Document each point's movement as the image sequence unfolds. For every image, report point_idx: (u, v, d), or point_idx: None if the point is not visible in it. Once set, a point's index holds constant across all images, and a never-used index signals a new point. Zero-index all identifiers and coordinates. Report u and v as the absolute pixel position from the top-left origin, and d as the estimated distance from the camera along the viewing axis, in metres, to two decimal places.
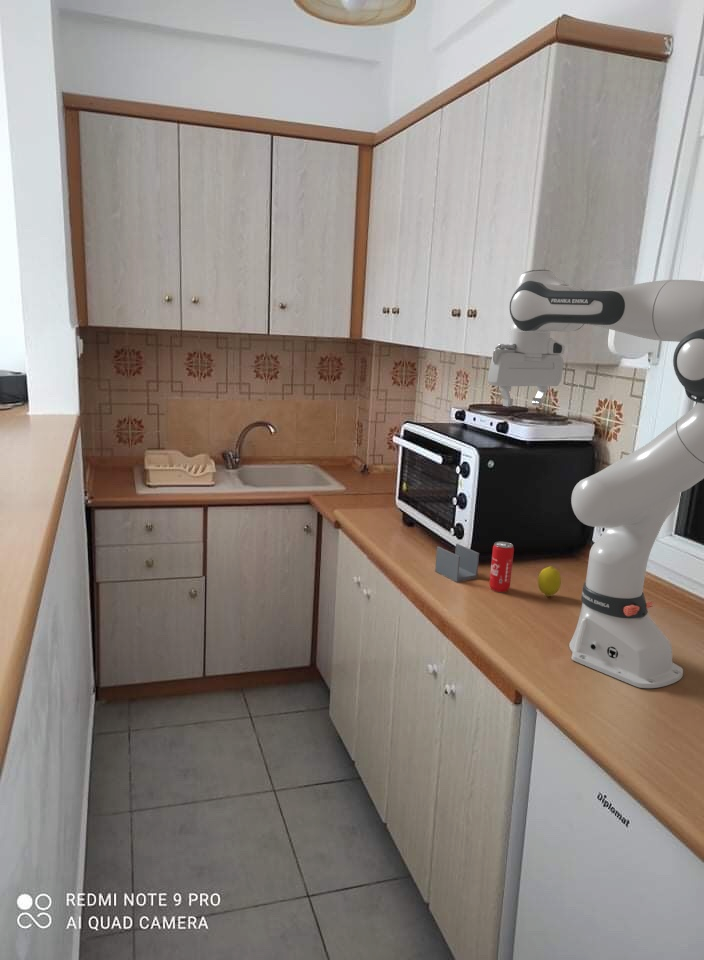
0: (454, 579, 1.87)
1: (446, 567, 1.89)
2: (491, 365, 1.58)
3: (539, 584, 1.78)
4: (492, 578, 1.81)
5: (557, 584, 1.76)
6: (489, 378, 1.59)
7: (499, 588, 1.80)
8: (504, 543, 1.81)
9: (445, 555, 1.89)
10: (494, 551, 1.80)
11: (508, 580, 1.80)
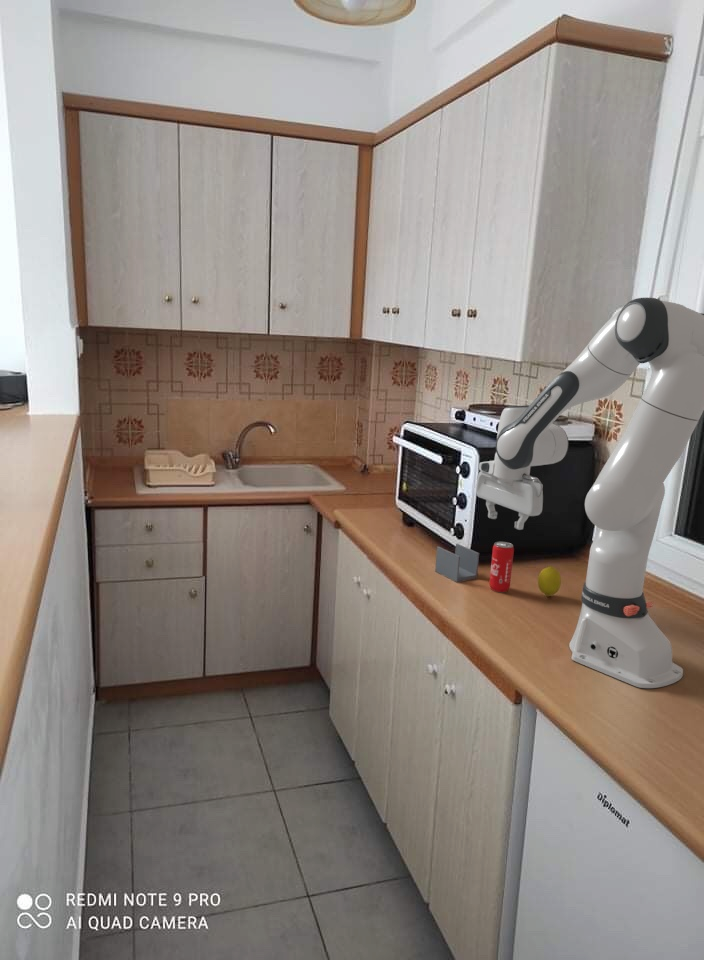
0: (454, 579, 1.87)
1: (446, 567, 1.89)
2: (535, 498, 1.69)
3: (539, 584, 1.78)
4: (492, 578, 1.81)
5: (557, 584, 1.76)
6: (534, 510, 1.69)
7: (499, 588, 1.80)
8: (504, 543, 1.81)
9: (445, 555, 1.89)
10: (494, 551, 1.80)
11: (508, 580, 1.80)
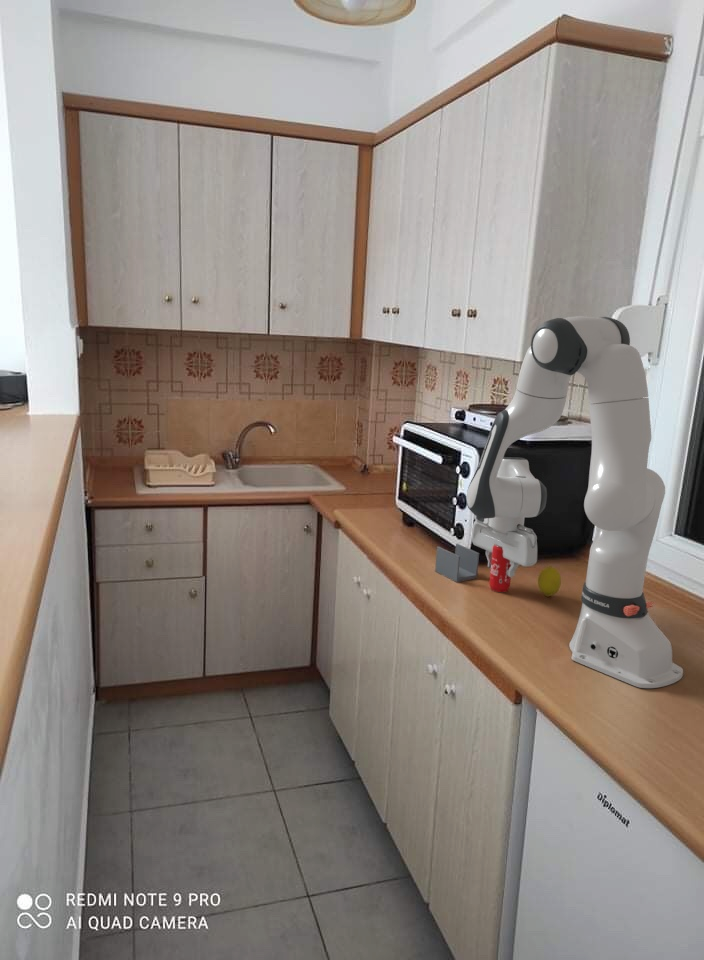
0: (454, 579, 1.87)
1: (446, 567, 1.89)
2: (529, 550, 1.71)
3: (539, 584, 1.78)
4: (492, 578, 1.81)
5: (557, 584, 1.76)
6: (529, 561, 1.72)
7: (499, 588, 1.80)
8: None
9: (445, 555, 1.89)
10: (494, 551, 1.80)
11: (508, 580, 1.80)
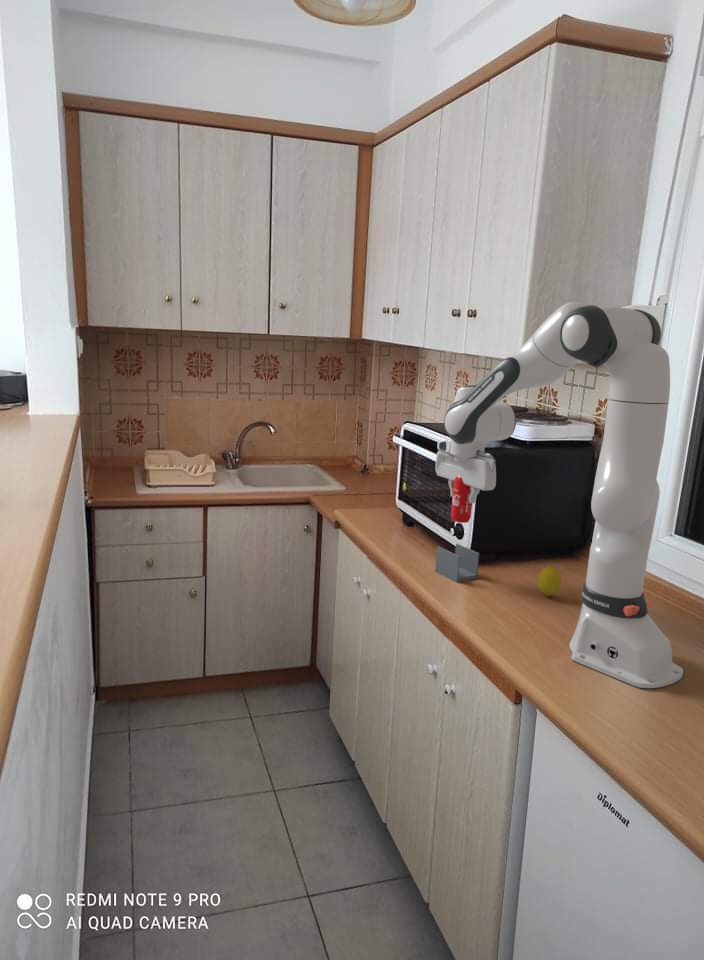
0: (454, 579, 1.87)
1: (446, 567, 1.89)
2: (488, 473, 1.77)
3: (539, 584, 1.78)
4: (454, 509, 1.86)
5: (557, 584, 1.76)
6: (488, 485, 1.77)
7: (460, 518, 1.85)
8: None
9: (445, 555, 1.89)
10: (456, 482, 1.85)
11: (469, 511, 1.86)
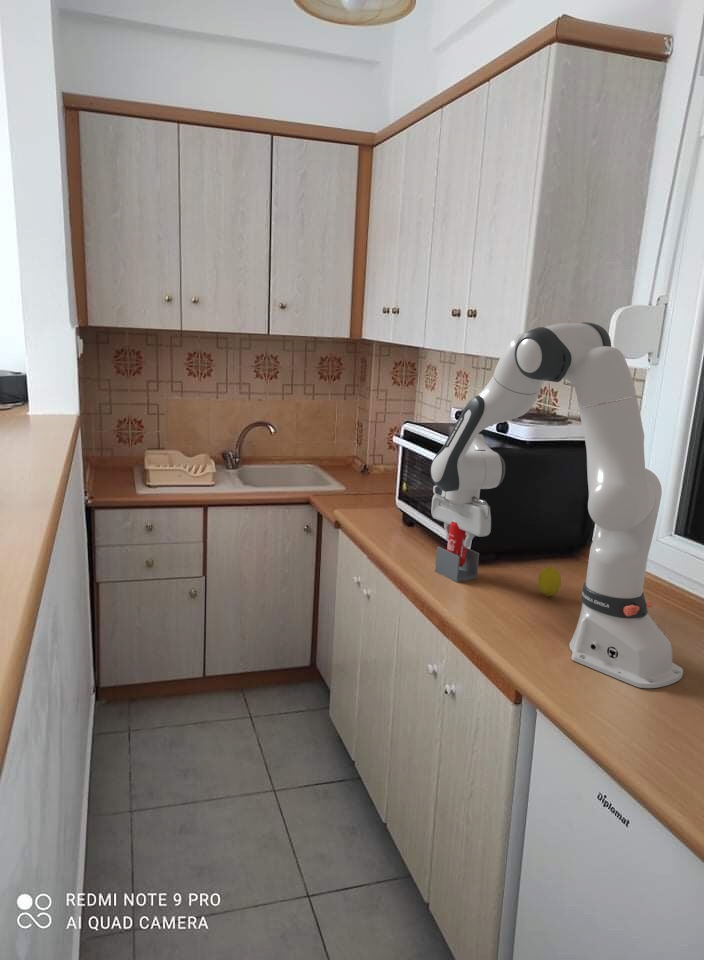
0: (454, 579, 1.87)
1: (446, 567, 1.89)
2: (483, 520, 1.79)
3: (539, 584, 1.78)
4: None
5: (557, 584, 1.76)
6: (483, 531, 1.80)
7: None
8: None
9: (445, 555, 1.89)
10: (451, 527, 1.88)
11: (463, 555, 1.88)
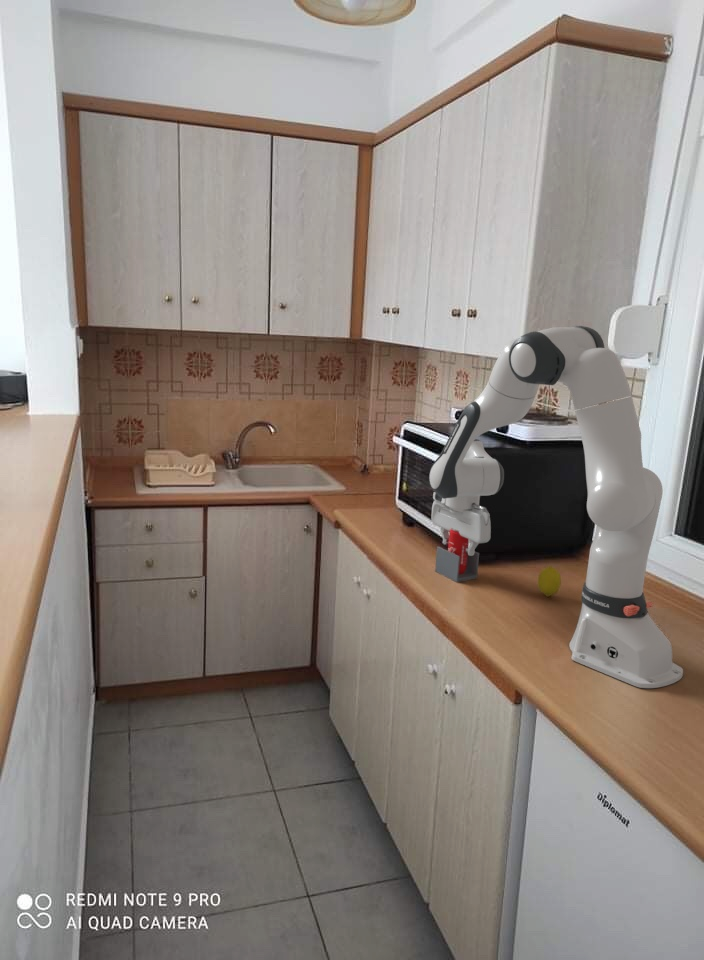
0: (454, 579, 1.87)
1: (446, 567, 1.89)
2: (482, 527, 1.80)
3: (539, 584, 1.78)
4: None
5: (557, 584, 1.76)
6: (482, 538, 1.80)
7: None
8: None
9: (445, 555, 1.89)
10: (450, 535, 1.88)
11: (464, 562, 1.89)
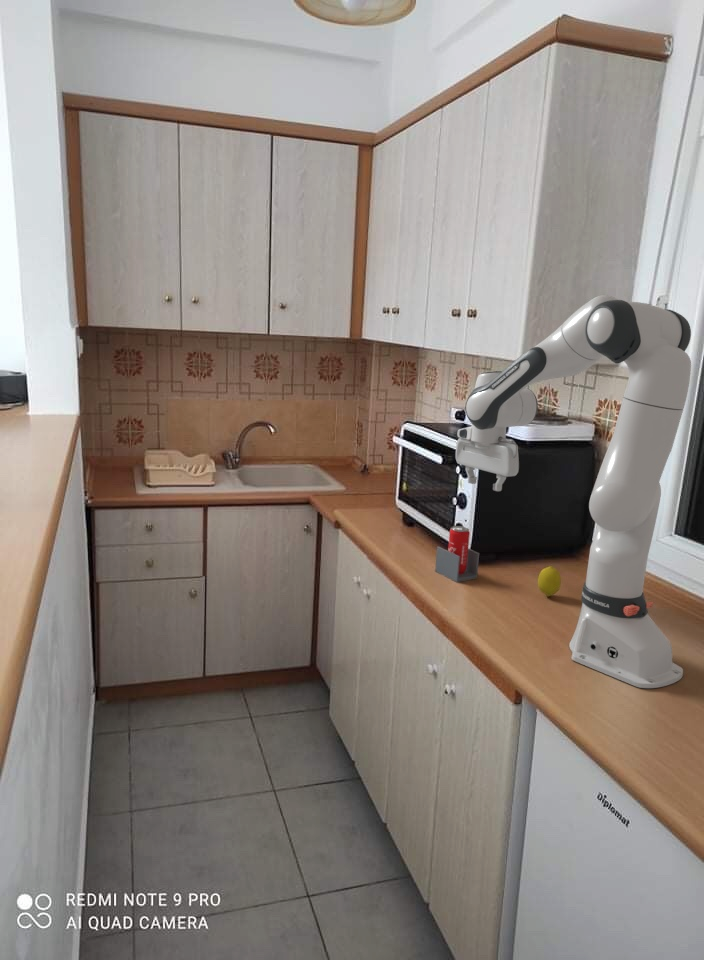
0: (454, 579, 1.87)
1: (446, 567, 1.89)
2: (511, 459, 1.76)
3: (539, 584, 1.78)
4: None
5: (557, 584, 1.76)
6: (511, 471, 1.76)
7: None
8: (460, 527, 1.90)
9: (445, 555, 1.89)
10: (451, 535, 1.88)
11: (464, 562, 1.89)
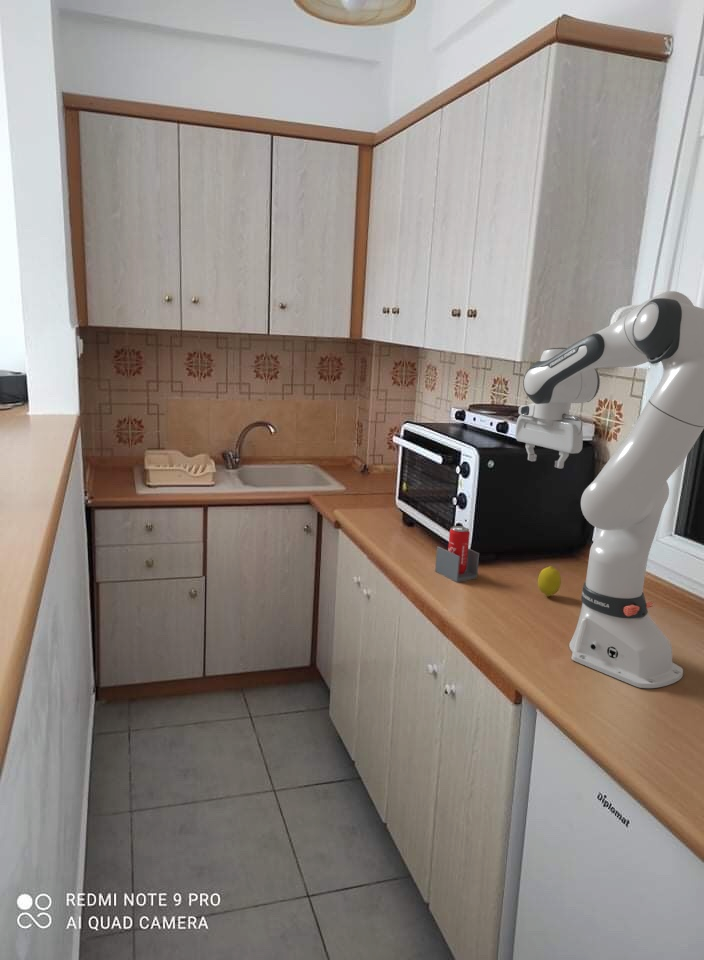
0: (454, 579, 1.87)
1: (446, 567, 1.89)
2: (575, 436, 1.76)
3: (539, 584, 1.78)
4: None
5: (557, 584, 1.76)
6: (575, 448, 1.76)
7: None
8: (460, 527, 1.90)
9: (445, 555, 1.89)
10: (451, 535, 1.88)
11: (464, 562, 1.89)
